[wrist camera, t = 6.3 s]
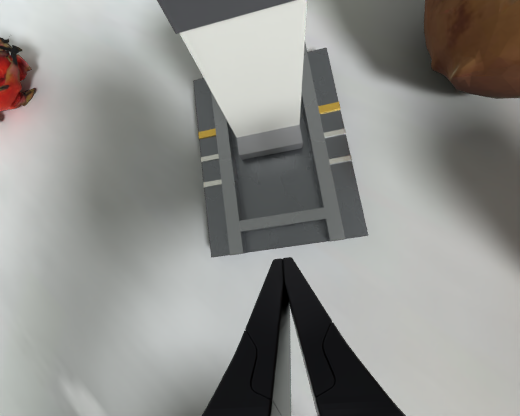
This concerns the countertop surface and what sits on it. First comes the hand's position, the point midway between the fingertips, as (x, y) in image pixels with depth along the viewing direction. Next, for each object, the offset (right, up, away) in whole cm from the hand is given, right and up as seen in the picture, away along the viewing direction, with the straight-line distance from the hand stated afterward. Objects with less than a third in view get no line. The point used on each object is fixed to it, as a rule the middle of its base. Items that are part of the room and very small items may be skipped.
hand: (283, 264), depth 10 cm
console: (0, +7, +9) cm, 12 cm away
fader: (-1, +10, +8) cm, 13 cm away
